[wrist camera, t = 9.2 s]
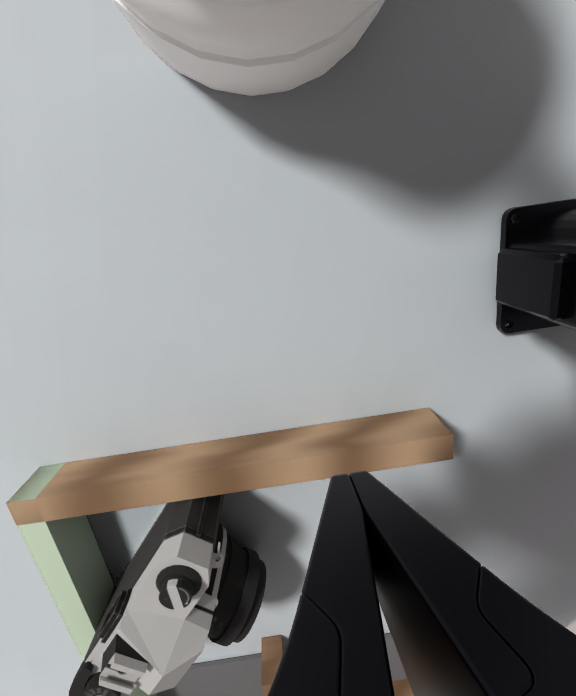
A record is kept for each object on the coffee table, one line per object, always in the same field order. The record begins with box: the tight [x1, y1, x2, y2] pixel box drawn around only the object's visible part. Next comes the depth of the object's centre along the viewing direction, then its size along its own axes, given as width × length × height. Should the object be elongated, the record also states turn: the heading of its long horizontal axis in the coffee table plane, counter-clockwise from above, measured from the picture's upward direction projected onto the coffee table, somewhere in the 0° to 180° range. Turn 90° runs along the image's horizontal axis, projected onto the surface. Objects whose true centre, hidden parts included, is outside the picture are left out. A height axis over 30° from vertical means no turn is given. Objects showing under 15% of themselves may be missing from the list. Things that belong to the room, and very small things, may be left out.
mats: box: [158, 633, 407, 696], centre depth 29 cm, size 20×5×1 cm, turn 98°
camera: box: [69, 494, 266, 696], centre depth 21 cm, size 13×8×9 cm, turn 151°
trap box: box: [6, 408, 453, 696], centre depth 25 cm, size 24×26×3 cm
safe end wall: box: [8, 463, 158, 696], centre depth 25 cm, size 2×26×3 cm, turn 8°
